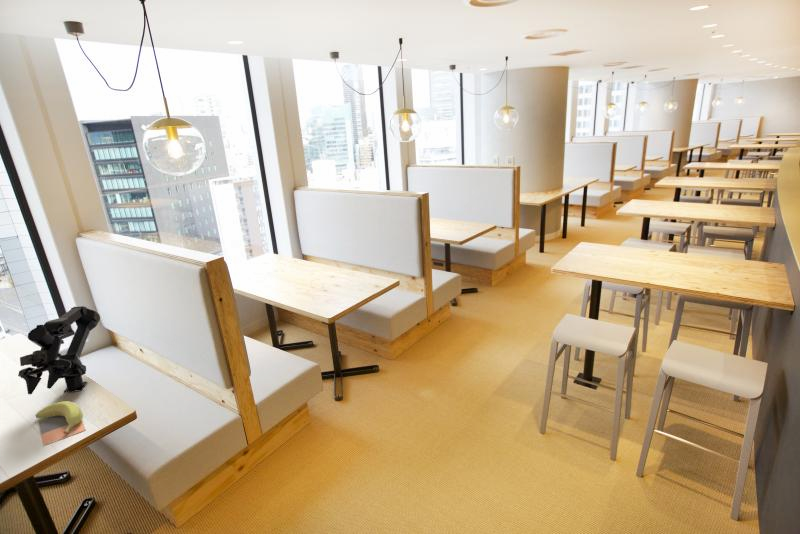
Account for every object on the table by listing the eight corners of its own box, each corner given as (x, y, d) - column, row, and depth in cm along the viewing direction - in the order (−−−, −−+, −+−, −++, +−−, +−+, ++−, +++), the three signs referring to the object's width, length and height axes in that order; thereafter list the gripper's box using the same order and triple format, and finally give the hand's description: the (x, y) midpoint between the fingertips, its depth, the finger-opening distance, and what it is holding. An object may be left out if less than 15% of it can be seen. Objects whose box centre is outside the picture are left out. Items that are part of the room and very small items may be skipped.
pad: (41, 434, 155) (41, 434, 155) (81, 420, 162) (81, 419, 162) (43, 445, 149) (43, 445, 149) (85, 430, 157) (85, 429, 157)
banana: (72, 389, 169) (80, 418, 155) (80, 398, 172) (88, 428, 158) (31, 410, 162) (35, 442, 148) (39, 419, 165) (44, 452, 151)
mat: (38, 421, 162) (38, 421, 162) (77, 408, 169) (77, 408, 169) (41, 434, 155) (41, 434, 155) (81, 420, 162) (81, 419, 162)
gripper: (9, 351, 162) (-4, 392, 154) (47, 338, 158) (36, 380, 151) (39, 359, 172) (28, 398, 164) (76, 347, 168) (66, 387, 160)
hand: (39, 391), depth 159 cm, fingers open, 9 cm apart
